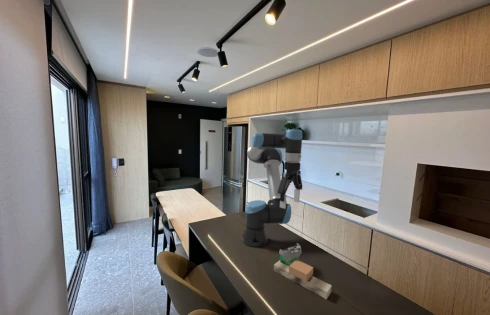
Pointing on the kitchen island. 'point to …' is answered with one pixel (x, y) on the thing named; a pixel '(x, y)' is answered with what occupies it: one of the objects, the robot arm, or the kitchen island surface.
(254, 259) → the kitchen island surface
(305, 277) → the tan toy stool
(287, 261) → the grey green half-round piece
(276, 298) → the kitchen island surface
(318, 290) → the rail
